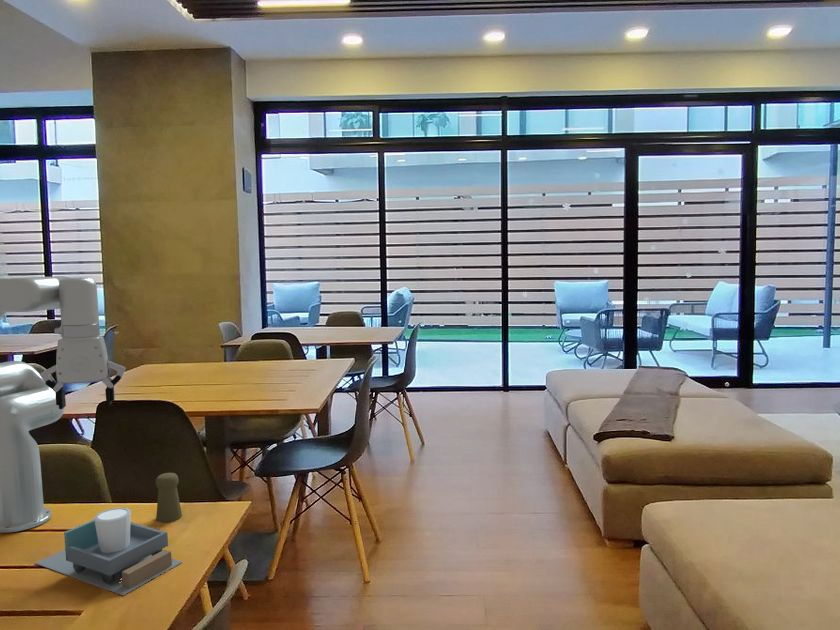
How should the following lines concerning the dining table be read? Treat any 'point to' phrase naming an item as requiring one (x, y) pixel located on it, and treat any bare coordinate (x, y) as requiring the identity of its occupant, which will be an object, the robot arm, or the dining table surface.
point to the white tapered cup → (113, 529)
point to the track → (130, 575)
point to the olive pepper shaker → (168, 498)
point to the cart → (88, 555)
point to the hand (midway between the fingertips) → (86, 406)
